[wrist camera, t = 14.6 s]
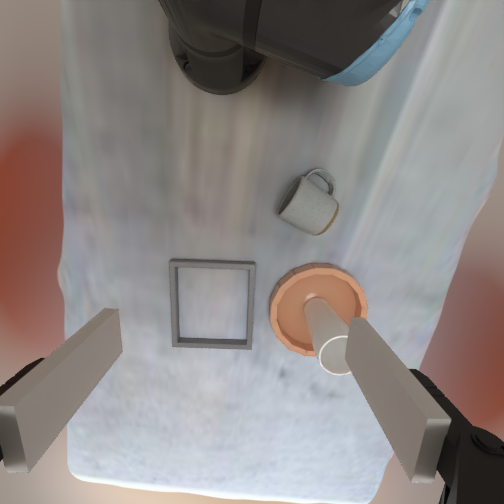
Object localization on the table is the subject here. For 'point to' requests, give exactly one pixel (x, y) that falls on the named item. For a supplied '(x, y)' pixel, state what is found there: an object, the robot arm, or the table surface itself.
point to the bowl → (305, 288)
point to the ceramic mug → (310, 204)
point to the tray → (175, 307)
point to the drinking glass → (327, 335)
